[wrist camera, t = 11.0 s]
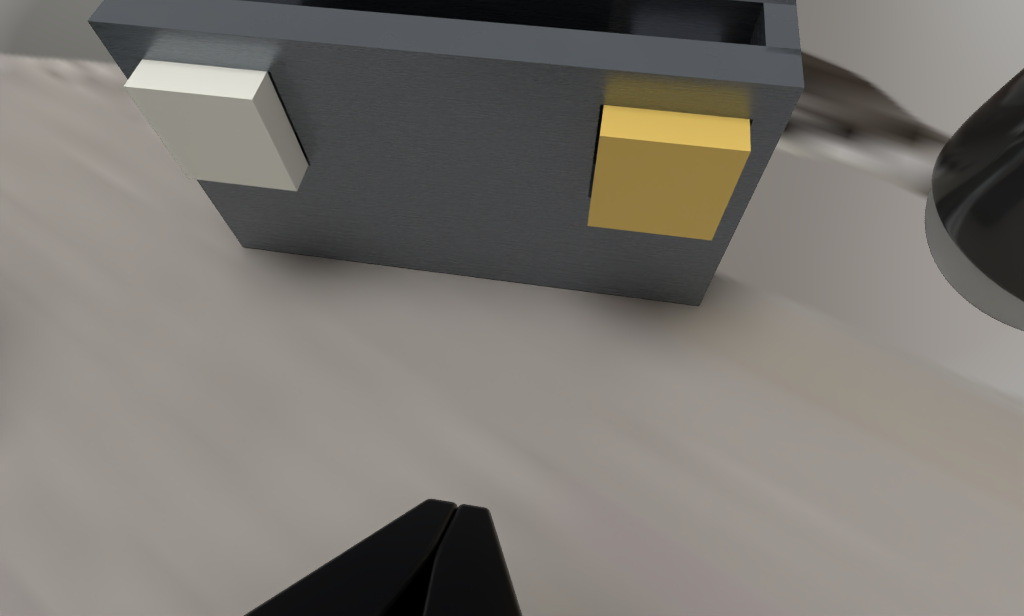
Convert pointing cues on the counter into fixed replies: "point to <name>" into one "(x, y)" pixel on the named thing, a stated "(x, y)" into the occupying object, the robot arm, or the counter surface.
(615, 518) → the counter surface
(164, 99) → the ivory button
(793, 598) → the counter surface
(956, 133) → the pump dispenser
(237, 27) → the button panel
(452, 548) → the robot arm
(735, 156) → the amber button
